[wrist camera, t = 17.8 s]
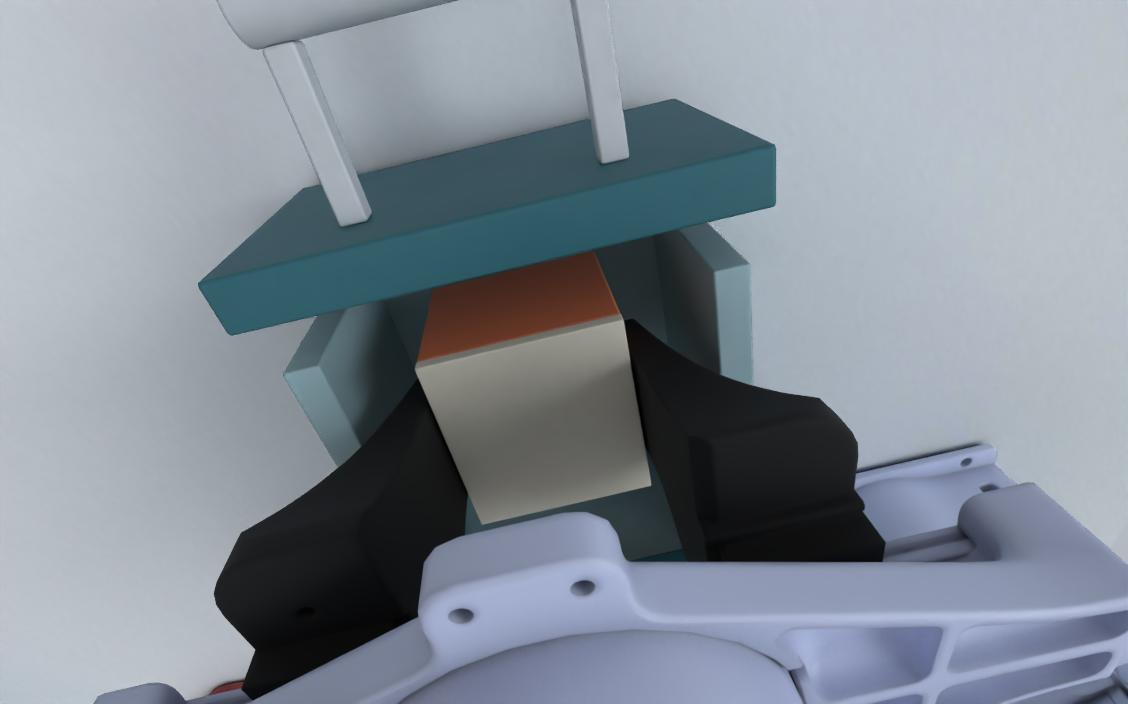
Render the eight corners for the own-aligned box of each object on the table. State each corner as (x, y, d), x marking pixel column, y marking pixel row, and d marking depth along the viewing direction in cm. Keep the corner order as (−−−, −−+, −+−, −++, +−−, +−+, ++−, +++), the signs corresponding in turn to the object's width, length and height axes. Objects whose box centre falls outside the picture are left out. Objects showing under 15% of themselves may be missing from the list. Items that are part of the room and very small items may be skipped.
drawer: (211, -3, 13) (3, -17, 8) (657, -114, 13) (780, -213, 7) (439, 485, 22) (421, 643, 17) (704, 424, 22) (775, 563, 16)
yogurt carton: (621, 394, 17) (651, 486, 14) (483, 426, 17) (481, 525, 14) (593, 249, 15) (624, 319, 11) (431, 288, 15) (413, 369, 11)
